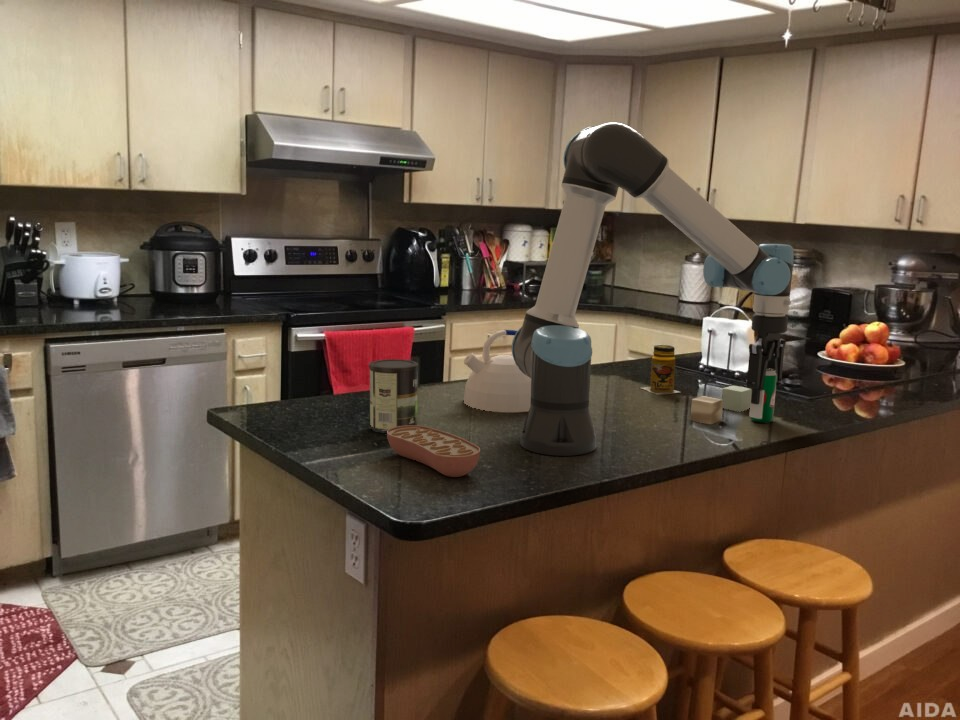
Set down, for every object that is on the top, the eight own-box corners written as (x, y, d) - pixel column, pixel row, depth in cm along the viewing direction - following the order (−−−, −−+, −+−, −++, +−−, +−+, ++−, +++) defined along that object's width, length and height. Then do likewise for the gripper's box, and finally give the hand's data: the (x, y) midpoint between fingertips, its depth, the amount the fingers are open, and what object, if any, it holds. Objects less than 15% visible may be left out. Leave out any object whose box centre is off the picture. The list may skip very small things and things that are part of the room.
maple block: (710, 424, 187) (711, 403, 186) (690, 420, 191) (691, 399, 190) (721, 421, 191) (722, 399, 190) (701, 416, 194) (703, 395, 193)
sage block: (740, 412, 199) (741, 391, 198) (721, 408, 203) (722, 388, 202) (750, 408, 203) (751, 388, 202) (731, 405, 206) (732, 385, 205)
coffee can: (415, 421, 185) (415, 358, 182) (419, 434, 175) (420, 367, 172) (368, 422, 183) (368, 358, 181) (370, 435, 173) (369, 368, 171)
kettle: (451, 396, 210) (452, 324, 207) (528, 391, 217) (531, 322, 213) (476, 415, 191) (477, 337, 188) (560, 410, 198) (563, 334, 194)
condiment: (658, 395, 215) (661, 349, 213) (639, 388, 223) (641, 343, 221) (681, 393, 218) (684, 347, 216) (661, 386, 226) (664, 342, 224)
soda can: (774, 424, 188) (778, 372, 186) (750, 422, 189) (755, 370, 187) (771, 418, 193) (775, 367, 191) (748, 417, 194) (752, 366, 192)
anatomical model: (377, 454, 161) (377, 429, 160) (420, 446, 167) (420, 422, 166) (448, 487, 143) (449, 459, 142) (493, 477, 149) (494, 450, 148)
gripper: (768, 319, 178) (758, 425, 182) (804, 312, 190) (794, 412, 195) (735, 315, 183) (726, 418, 187) (772, 309, 196) (763, 406, 200)
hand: (761, 415), depth 191 cm, fingers closed on soda can, 5 cm apart
